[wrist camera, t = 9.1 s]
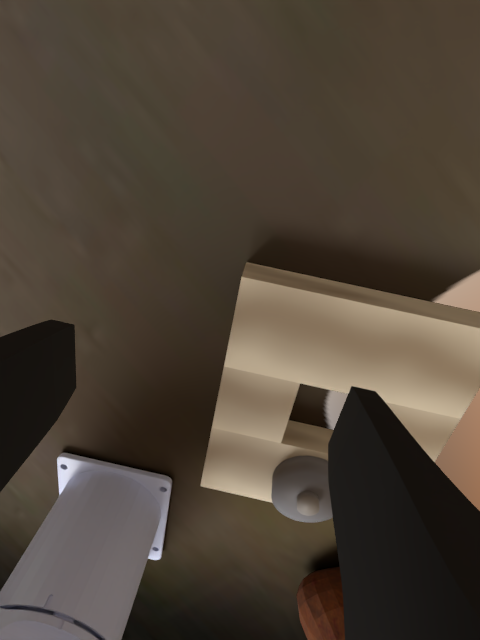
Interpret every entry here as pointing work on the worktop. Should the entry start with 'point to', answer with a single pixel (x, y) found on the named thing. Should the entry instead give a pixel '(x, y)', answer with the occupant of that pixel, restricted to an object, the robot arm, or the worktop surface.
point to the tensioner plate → (329, 379)
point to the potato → (322, 605)
